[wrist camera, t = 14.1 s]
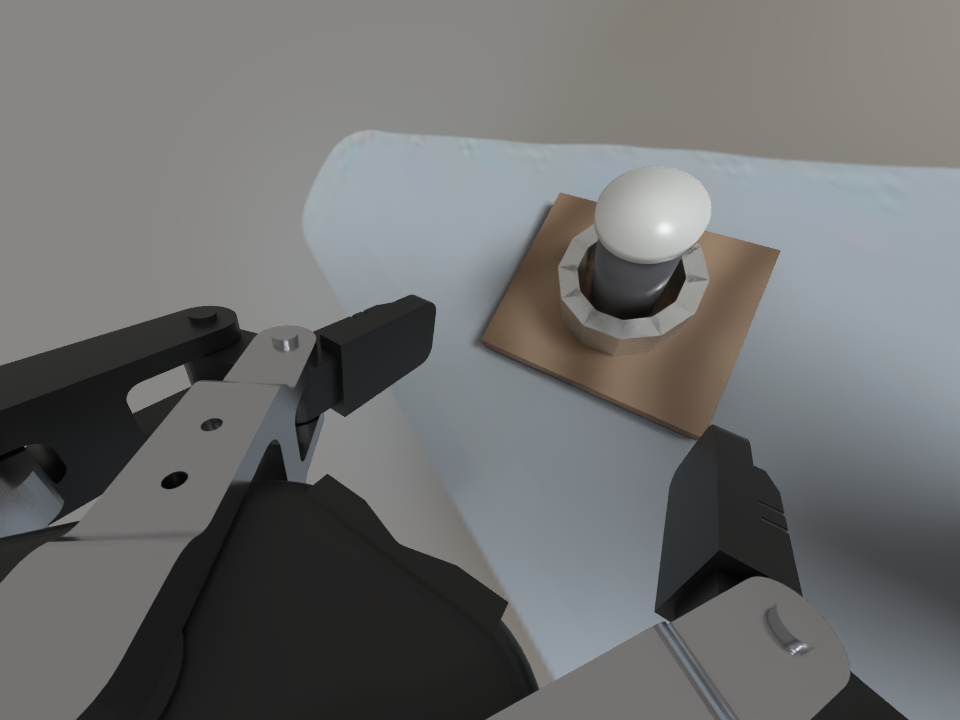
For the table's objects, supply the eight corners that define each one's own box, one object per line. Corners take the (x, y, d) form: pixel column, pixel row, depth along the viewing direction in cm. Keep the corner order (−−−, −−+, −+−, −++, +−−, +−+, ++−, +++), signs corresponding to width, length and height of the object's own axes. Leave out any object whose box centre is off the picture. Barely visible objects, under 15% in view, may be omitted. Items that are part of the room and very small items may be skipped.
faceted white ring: (707, 266, 25) (728, 236, 22) (659, 375, 23) (674, 360, 20) (589, 232, 28) (592, 200, 24) (540, 327, 26) (537, 307, 23)
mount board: (768, 262, 25) (780, 250, 24) (695, 440, 23) (703, 438, 22) (560, 205, 31) (559, 192, 29) (484, 345, 29) (480, 339, 27)
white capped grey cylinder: (670, 281, 25) (727, 179, 16) (642, 342, 24) (686, 271, 15) (602, 259, 27) (620, 156, 18) (573, 316, 26) (577, 238, 17)
